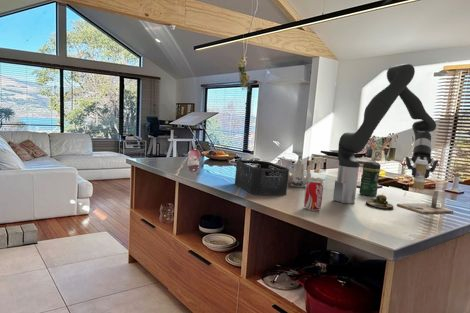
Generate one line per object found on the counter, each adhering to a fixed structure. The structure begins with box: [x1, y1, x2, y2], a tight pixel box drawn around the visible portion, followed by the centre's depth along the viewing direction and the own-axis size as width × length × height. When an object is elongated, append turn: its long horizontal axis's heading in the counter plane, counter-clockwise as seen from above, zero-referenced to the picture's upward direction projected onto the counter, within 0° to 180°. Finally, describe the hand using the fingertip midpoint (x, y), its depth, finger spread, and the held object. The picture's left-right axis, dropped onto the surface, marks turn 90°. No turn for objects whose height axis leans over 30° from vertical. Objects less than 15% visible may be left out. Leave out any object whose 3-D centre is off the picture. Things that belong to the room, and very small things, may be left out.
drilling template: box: [396, 190, 454, 215], centre depth 155 cm, size 20×14×9 cm
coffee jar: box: [358, 161, 381, 197], centre depth 180 cm, size 10×8×19 cm
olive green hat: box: [365, 194, 394, 211], centre depth 152 cm, size 12×12×8 cm
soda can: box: [303, 180, 324, 212], centre depth 136 cm, size 7×7×12 cm
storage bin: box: [234, 159, 290, 196], centre depth 170 cm, size 29×19×13 cm
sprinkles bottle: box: [412, 160, 428, 190], centre depth 152 cm, size 5×5×14 cm
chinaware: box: [285, 158, 325, 188], centre depth 193 cm, size 28×17×17 cm, turn 57°
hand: (420, 176), depth 150 cm, fingers closed on sprinkles bottle, 4 cm apart
